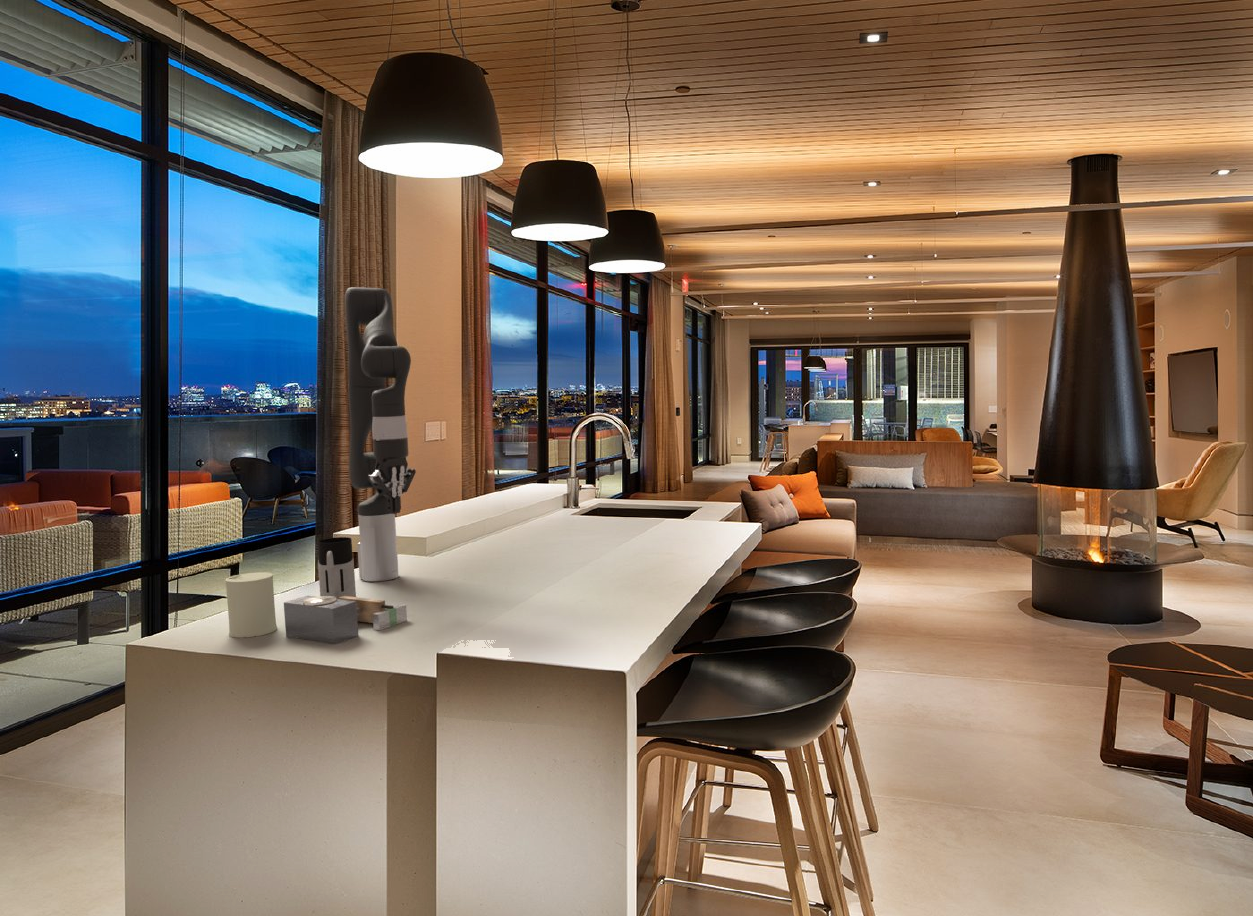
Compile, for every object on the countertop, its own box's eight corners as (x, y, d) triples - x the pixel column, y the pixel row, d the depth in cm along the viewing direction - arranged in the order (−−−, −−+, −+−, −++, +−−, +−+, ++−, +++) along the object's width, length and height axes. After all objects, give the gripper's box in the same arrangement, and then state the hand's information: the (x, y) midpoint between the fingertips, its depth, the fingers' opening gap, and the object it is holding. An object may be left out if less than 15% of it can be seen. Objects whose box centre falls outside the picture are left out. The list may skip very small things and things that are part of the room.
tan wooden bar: (325, 623, 181) (323, 601, 180) (345, 616, 186) (344, 595, 185) (376, 630, 174) (374, 608, 173) (396, 623, 178) (394, 601, 178)
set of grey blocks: (285, 636, 173) (282, 600, 173) (355, 613, 189) (353, 580, 189) (338, 644, 166) (336, 607, 165) (407, 620, 182) (405, 586, 181)
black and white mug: (360, 597, 204) (356, 535, 203) (352, 612, 191) (347, 546, 189) (322, 600, 203) (318, 538, 202) (311, 615, 189) (306, 548, 188)
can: (238, 626, 182) (234, 571, 181) (283, 624, 183) (279, 568, 182) (221, 639, 173) (217, 580, 172) (268, 636, 174) (264, 578, 173)
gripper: (399, 433, 198) (403, 507, 200) (355, 438, 187) (360, 517, 189) (423, 434, 195) (427, 509, 197) (380, 439, 183) (384, 519, 185)
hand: (394, 513), depth 193 cm, fingers closed
